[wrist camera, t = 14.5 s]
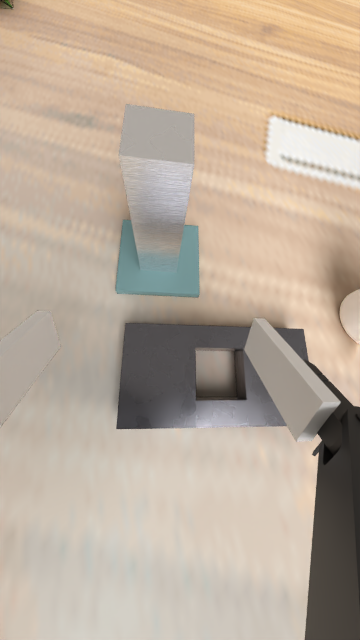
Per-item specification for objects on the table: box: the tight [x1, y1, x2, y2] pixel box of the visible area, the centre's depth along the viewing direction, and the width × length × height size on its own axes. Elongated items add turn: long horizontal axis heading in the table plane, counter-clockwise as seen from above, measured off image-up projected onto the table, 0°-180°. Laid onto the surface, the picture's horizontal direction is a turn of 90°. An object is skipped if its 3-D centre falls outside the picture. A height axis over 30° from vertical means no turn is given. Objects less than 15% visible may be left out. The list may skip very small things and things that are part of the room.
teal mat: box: [116, 220, 199, 297], centre depth 25 cm, size 10×10×1 cm
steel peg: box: [119, 104, 194, 273], centre depth 18 cm, size 4×4×13 cm
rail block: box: [116, 323, 308, 429], centre depth 21 cm, size 20×10×2 cm, turn 90°
